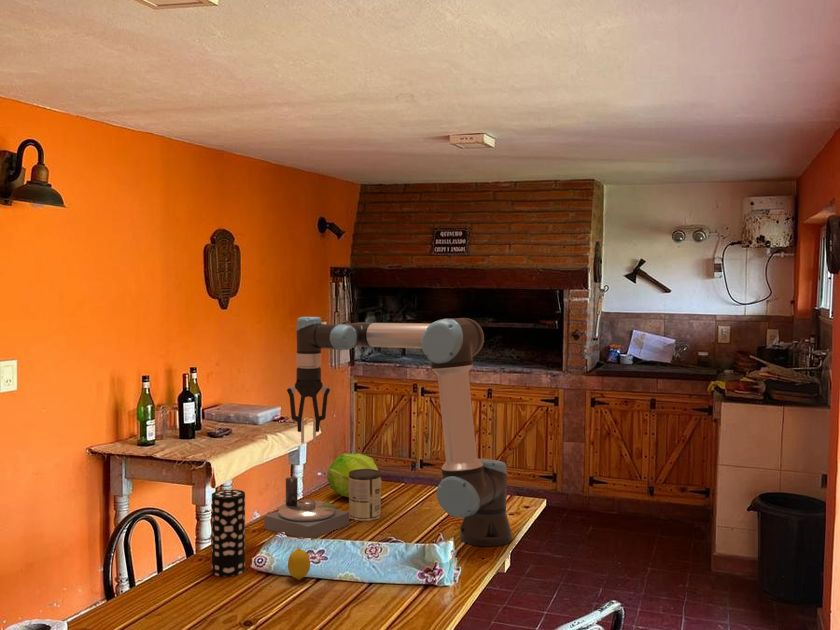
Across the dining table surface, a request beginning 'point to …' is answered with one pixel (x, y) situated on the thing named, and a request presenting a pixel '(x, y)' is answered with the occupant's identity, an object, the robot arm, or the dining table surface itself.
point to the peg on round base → (303, 505)
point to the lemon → (298, 564)
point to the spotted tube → (228, 532)
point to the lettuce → (347, 470)
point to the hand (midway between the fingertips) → (308, 442)
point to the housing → (306, 524)
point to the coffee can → (364, 494)
